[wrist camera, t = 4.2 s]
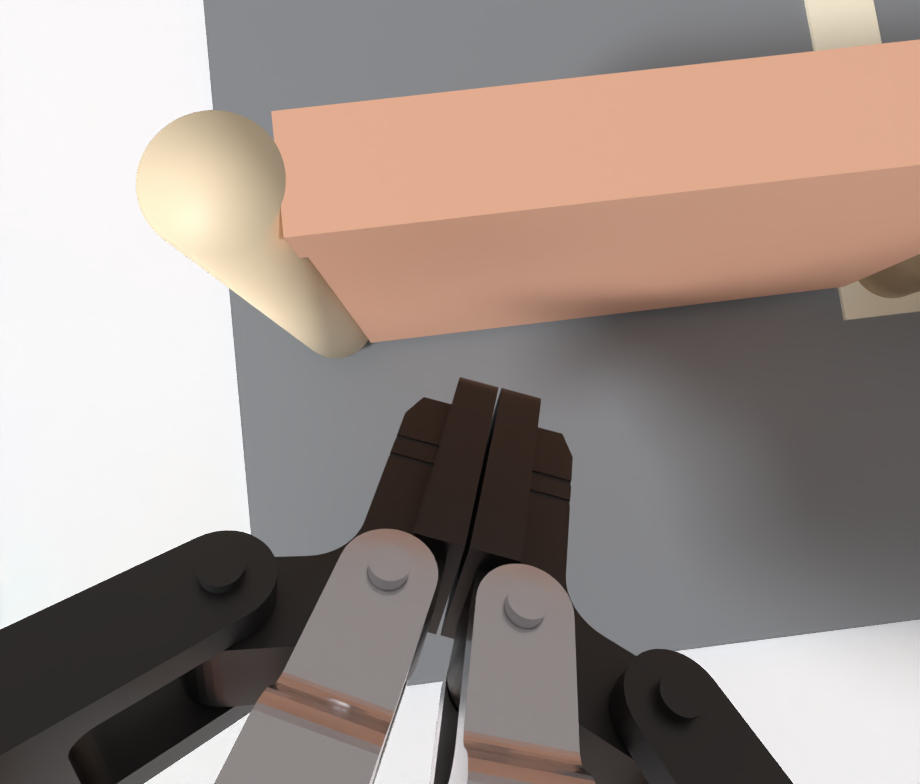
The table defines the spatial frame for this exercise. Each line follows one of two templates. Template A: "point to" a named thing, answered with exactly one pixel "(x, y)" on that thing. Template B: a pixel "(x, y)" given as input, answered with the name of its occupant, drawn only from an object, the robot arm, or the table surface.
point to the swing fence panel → (550, 195)
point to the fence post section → (895, 279)
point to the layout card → (605, 349)
